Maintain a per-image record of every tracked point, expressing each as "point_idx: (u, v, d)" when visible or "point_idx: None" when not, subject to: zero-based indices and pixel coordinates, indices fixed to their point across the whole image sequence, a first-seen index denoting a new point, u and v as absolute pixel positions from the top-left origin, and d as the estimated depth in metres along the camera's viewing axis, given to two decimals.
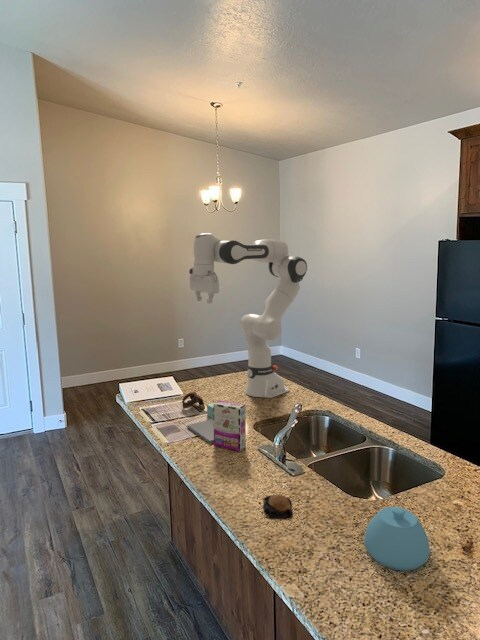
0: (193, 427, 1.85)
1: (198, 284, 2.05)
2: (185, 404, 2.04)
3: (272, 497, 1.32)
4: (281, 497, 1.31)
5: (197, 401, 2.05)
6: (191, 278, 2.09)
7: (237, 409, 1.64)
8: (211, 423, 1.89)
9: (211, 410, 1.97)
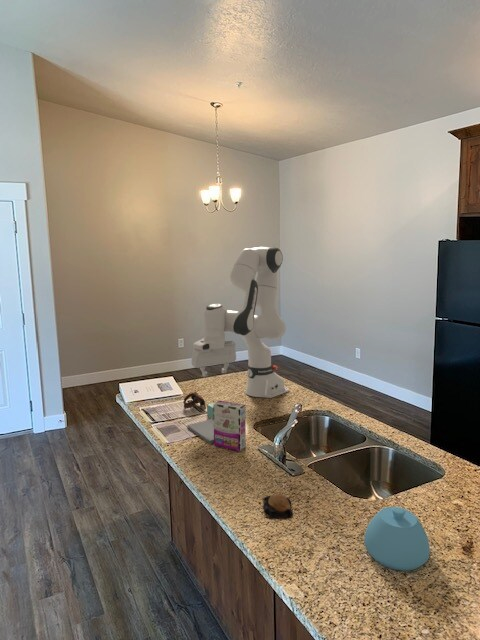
0: (193, 427, 1.85)
1: (212, 358, 1.93)
2: (186, 404, 2.04)
3: (272, 497, 1.32)
4: (281, 497, 1.31)
5: (198, 401, 2.05)
6: (200, 355, 1.89)
7: (237, 409, 1.64)
8: (211, 423, 1.89)
9: (211, 410, 1.97)
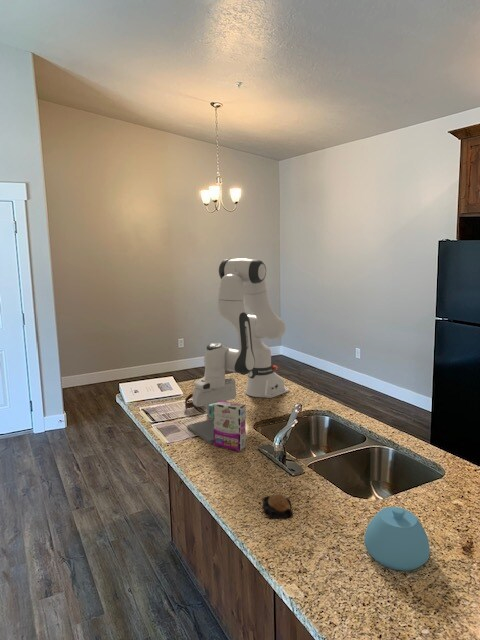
0: (193, 427, 1.85)
1: (213, 396, 1.96)
2: (188, 404, 2.04)
3: (271, 497, 1.32)
4: (280, 497, 1.31)
5: None
6: (201, 394, 1.92)
7: (237, 409, 1.64)
8: (211, 423, 1.89)
9: (211, 410, 1.97)
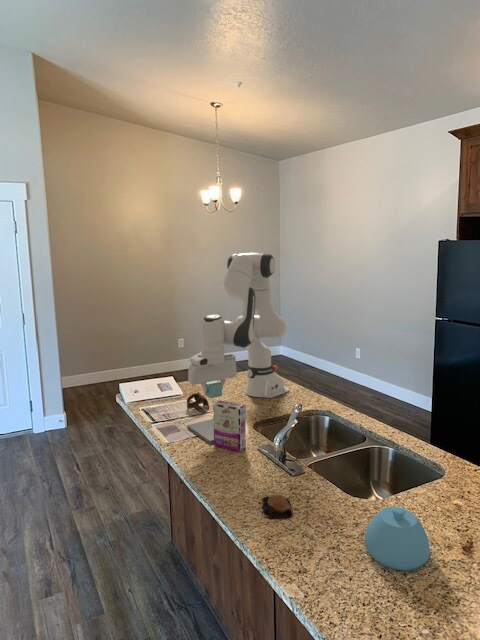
0: (193, 427, 1.85)
1: (210, 374, 1.77)
2: (190, 405, 2.04)
3: (271, 497, 1.32)
4: (280, 497, 1.31)
5: (202, 401, 2.04)
6: (197, 370, 1.73)
7: (237, 409, 1.64)
8: (211, 423, 1.89)
9: (209, 388, 1.78)
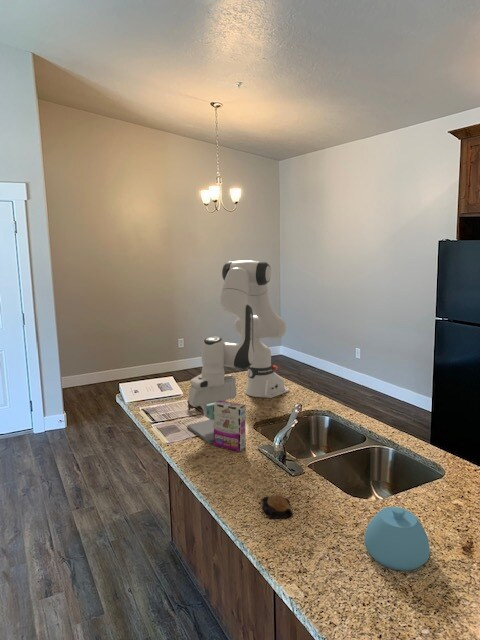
0: (193, 427, 1.85)
1: (211, 395, 1.78)
2: (191, 405, 2.04)
3: (271, 498, 1.32)
4: (280, 497, 1.31)
5: None
6: (198, 393, 1.75)
7: (237, 410, 1.64)
8: (211, 423, 1.89)
9: (209, 410, 1.80)
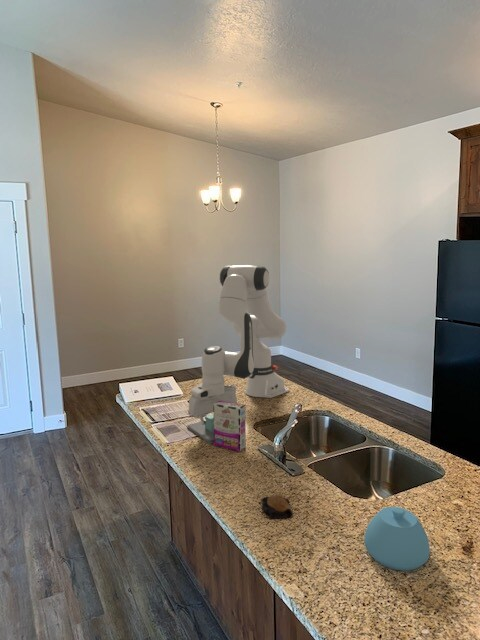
0: (193, 427, 1.85)
1: (211, 405, 1.79)
2: None
3: (270, 498, 1.32)
4: (280, 497, 1.31)
5: None
6: (198, 402, 1.75)
7: (237, 409, 1.64)
8: None
9: (209, 422, 1.81)
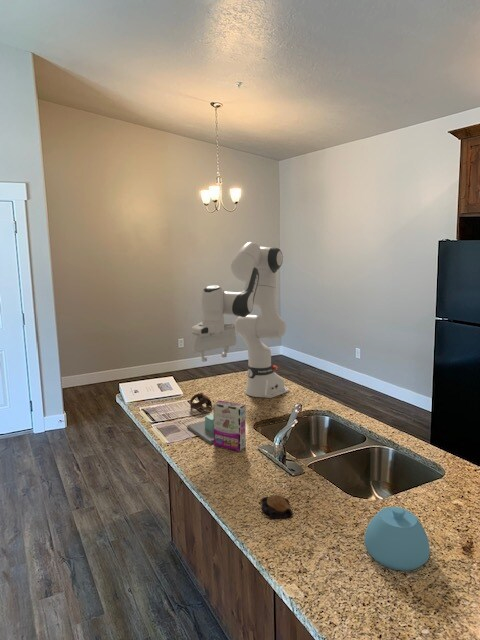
0: (193, 427, 1.85)
1: (211, 342, 1.85)
2: (194, 405, 2.03)
3: (270, 498, 1.32)
4: (279, 497, 1.31)
5: (206, 402, 2.04)
6: (199, 339, 1.81)
7: (237, 409, 1.64)
8: None
9: (209, 422, 1.81)
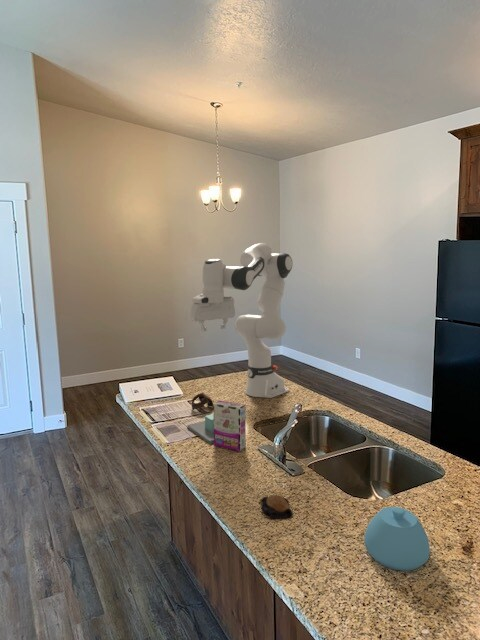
0: (193, 427, 1.85)
1: (211, 312, 1.94)
2: (195, 405, 2.03)
3: (270, 498, 1.32)
4: (279, 497, 1.31)
5: (207, 402, 2.04)
6: (199, 308, 1.90)
7: (237, 409, 1.64)
8: None
9: (209, 422, 1.81)
